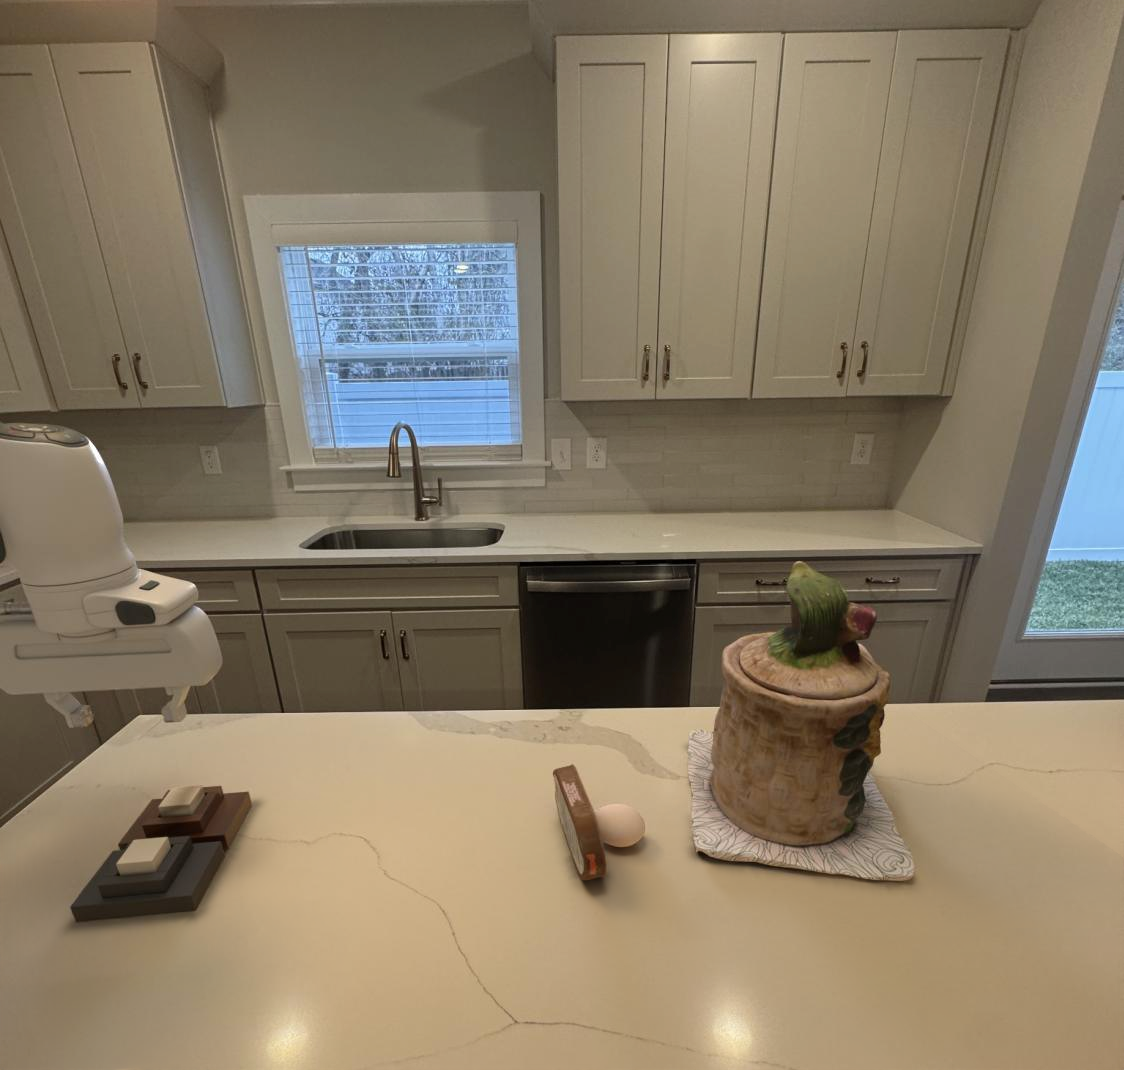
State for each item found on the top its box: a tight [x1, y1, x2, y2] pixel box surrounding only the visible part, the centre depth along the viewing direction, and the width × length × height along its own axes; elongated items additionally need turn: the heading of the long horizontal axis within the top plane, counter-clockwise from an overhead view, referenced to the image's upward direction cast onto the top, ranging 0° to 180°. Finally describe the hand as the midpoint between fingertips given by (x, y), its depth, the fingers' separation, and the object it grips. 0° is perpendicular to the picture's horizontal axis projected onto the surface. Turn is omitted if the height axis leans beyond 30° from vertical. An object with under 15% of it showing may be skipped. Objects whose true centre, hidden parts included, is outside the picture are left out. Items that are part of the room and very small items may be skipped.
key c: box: [116, 837, 171, 876], centre depth 67 cm, size 4×4×2 cm
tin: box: [552, 763, 607, 881], centre depth 72 cm, size 15×3×8 cm, turn 13°
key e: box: [158, 785, 205, 817], centre depth 75 cm, size 4×4×2 cm
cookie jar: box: [686, 560, 916, 882], centre depth 74 cm, size 25×25×32 cm
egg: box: [594, 803, 646, 848], centre depth 74 cm, size 5×5×7 cm
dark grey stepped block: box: [69, 836, 226, 923], centre depth 68 cm, size 12×8×4 cm, turn 96°
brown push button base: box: [117, 785, 253, 850], centre depth 76 cm, size 12×8×4 cm, turn 96°
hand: (129, 722), depth 64 cm, fingers open, 8 cm apart
